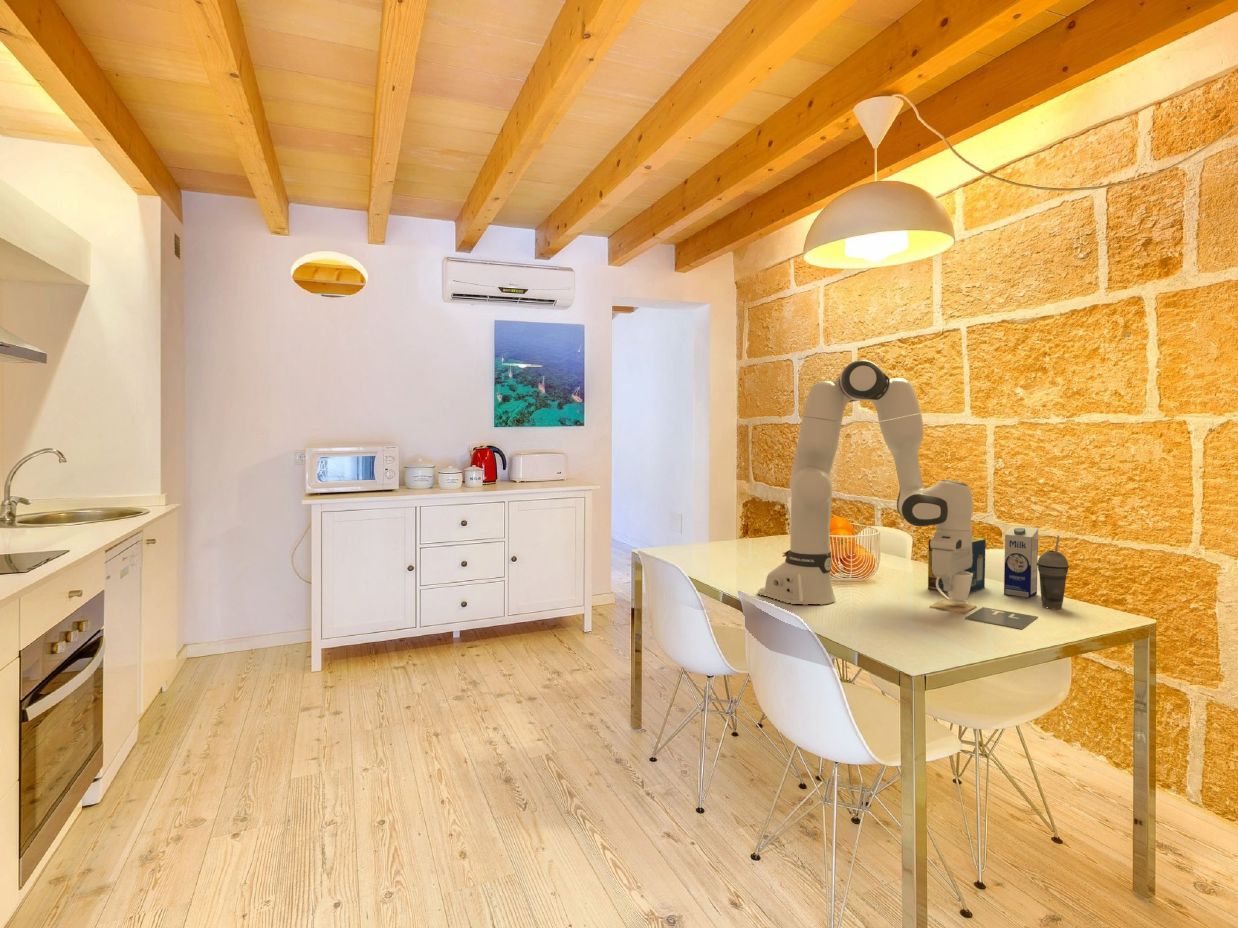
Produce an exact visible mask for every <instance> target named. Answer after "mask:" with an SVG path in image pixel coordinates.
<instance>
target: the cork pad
mask: <svg viewBox="0 0 1238 928" xmlns="http://www.w3.org/2000/svg"><path fill="white" fill-rule="evenodd" d="M929 608H930V609H935V610H940V611H945V612H951V613H957V614H962V615H966V614H967V613H969V612H971V611H973V610H975V609H976V608H977V605H974V604H971V603H970V604H969V603H966V604H958V603H953V602H950V600H948V599H941V600H939V601H937V602H935V603H933V604H931V605H929Z"/></svg>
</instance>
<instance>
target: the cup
mask: <svg viewBox="0 0 1238 928" xmlns="http://www.w3.org/2000/svg"><path fill="white" fill-rule="evenodd" d="M972 577H973V573H969V572H966V571H962V572H959V573H957V574H955V575H952V579H951V584H952V591H949V592H948V593H947V594H948V596H947V595H946V594H945V592H942V591H941V590H940V588H939V585H938V582H939V578H940V577H937V579H936V588H937V589H938V591H937V592H938V593H940V594H941V595H942V596H943V598H945V600H947V601H950V602H953V603H958V604H968V601H967V599H968V598H969V595H970V593H971V592H970V587H971V582H972ZM969 592H970V593H969Z"/></svg>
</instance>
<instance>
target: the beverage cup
mask: <svg viewBox="0 0 1238 928" xmlns="http://www.w3.org/2000/svg"><path fill="white" fill-rule="evenodd" d="M1059 542H1060V535H1057V536H1056V542H1055V549H1054V550H1048V551H1044V552H1043V553H1042V554H1041V555H1039V557H1038V563H1037V572H1038V575H1039V587H1040V599H1041V606H1042V607H1043V606H1044V607H1043V608H1045V607H1048V608H1047V609H1049V608H1052V609H1051V610H1062V609H1063V604H1064V597H1065V589H1066V582H1067V581H1066V580H1067V574H1068V571H1069V568H1070V566H1069V561H1068V560H1067V558H1066V556H1065V555H1064V554H1063V553H1061V552H1059V551H1058V547H1059ZM1061 608H1062V609H1061Z"/></svg>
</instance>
